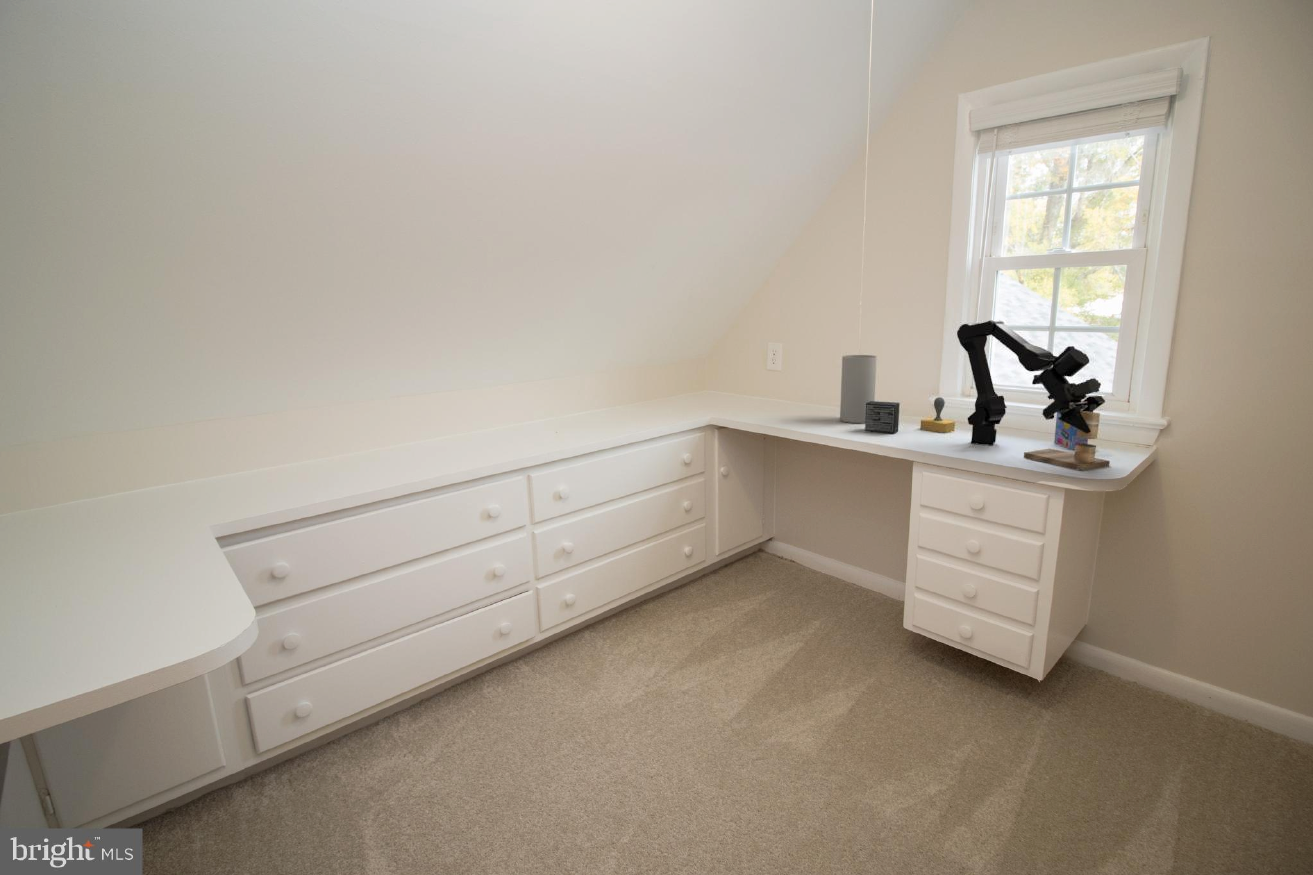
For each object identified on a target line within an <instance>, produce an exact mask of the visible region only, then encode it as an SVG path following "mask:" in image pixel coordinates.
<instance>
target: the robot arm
mask: <svg viewBox="0 0 1313 875" xmlns="http://www.w3.org/2000/svg"><path fill="white" fill-rule="evenodd" d="M956 336H957V339H958V342H959V344H960V346H961V347H962V348H963V349H964V350H965V351H966V353H967V355H968V360H969V364H970V368H971V372H972V373H971V374H972V377H973V381H974V385H975V390H976V394H977V395H976V396H977V397H976V399H975V403H974V411H973V412H972V413H971V414H970V415H969V416H968V417H967V423H968V425H970V426H972V427H971V430H972V431H971V439H970V444H972V445H982V446H994V444H996V442H997V432H998V430H997V428H996V425H1000V423H1001V421H1002V420H1003V418H1004V416H1005V415H1006V409H1007V408H1008V406H1006V403H1005V398H1004V395H998V394H997V392H996V391H995V388H994V383H993V380H992V375H991V372H990V367H989V362H988V358H987V355H986V350H985V348H986V344H987V341H988V337H989V336H992V337H994V338H995V340H997V341H998V342H1000V343H1001V344H1002V345H1003V346H1005V347H1006V348H1007V349H1009V351H1010V352H1012V353H1014V354H1015V355H1016V357H1017V359H1018V362H1019V363H1020V364H1021V366H1022V367H1023V368H1024V369H1025V370H1026V371H1028V372H1041V373H1040V374H1035V375H1033V378H1032V382H1031V383H1032V385H1033V386H1034V385H1042V386H1043V387H1044V389H1045V390H1046V391H1047V393H1048V395H1047V396H1046V397H1047V398H1048V399H1049V400H1053V401H1052V402H1051V403H1049V405H1047V406H1046V407H1045V408H1044V409H1042V416H1043V417H1044V418H1045V420H1046V421H1047V420H1054V418H1055V414H1057V412H1060V413H1061V414H1060V415H1061V417H1060V418H1058V420H1061V421H1063V422H1065V423H1067V424H1070V425H1072V426H1074V427H1075V428H1077V429H1079V430H1081V431H1083V432H1085V433H1089V432H1091V431H1090V429H1089V427H1088V425H1087V424H1086V422H1085V420H1084V419H1083V417H1082V415H1081V412H1082V411H1088V412H1095V410H1097V409H1099V407H1101V406H1102V405H1104V404H1105V403H1106V400H1105V399H1104V398H1103V396H1101V395H1090V394H1094V393H1098V392H1100V389H1101V385H1102V383H1101V382H1099V380H1097V379H1096V378H1095V377H1094V378H1090V379H1086V380H1085V381H1082V382H1080V383H1074V382H1073V383H1072V382H1071V383H1070V381H1069V380H1068V379H1067V378H1066V377H1069V378H1071V377H1074V376H1075V375H1076V374H1077V373H1078V372H1080V371H1081V370H1082V369H1084V368H1085V366H1087V365H1089V363H1090V359H1089V356H1088V355H1087V354H1086V353H1084V352H1083V351H1081V350H1080V349H1077V348H1076V347H1075V346H1074V345H1071V346H1070V345H1068V346H1067V347H1065V349H1064V350H1063V351H1062V352H1060V353H1059V355H1058V356H1057V355H1054V353H1052V352H1050V351H1049V350H1047V349H1045V348H1043V347H1040V346H1037V345H1034V344H1031V343H1030V342H1028V341H1027V340H1026V339H1024V338H1023V336H1021V335H1019V334H1018V333H1017V332H1015V331H1014V330H1013V329H1011V328H1010V327H1009V326H1008V325H1006V324H1005V323H1004V321H1003V320H1000V319H993V320H987V321H984V322H977V323H963V324H961V325H960V326H959V327H958V330H957V331H956ZM1087 395H1090V396H1088V397H1087Z"/></svg>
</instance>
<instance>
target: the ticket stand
mask: <svg viewBox="0 0 1313 875" xmlns="http://www.w3.org/2000/svg"><path fill="white" fill-rule="evenodd" d="M1075 445H1076V446H1075V449H1074V452H1069V451H1064V450H1059V449H1058V450H1057V449H1054V448H1050V447H1049V448H1044V449H1037V450H1032V451H1025V452H1024V453H1023V458H1024V459H1028V460H1033V461H1038V462H1042V463H1047V464H1050V465H1055V466H1060V467H1064V468H1067V467H1068V469H1072V470H1076V469H1078V470H1077V471H1080V470H1086V471H1091V470H1096V469H1100V468H1101V467H1102V468H1106V467H1110V462H1111V461H1110V460H1108V459H1107V460H1106V459H1104V458H1103V459H1102V458H1097V457H1095V456H1096V451H1097V445H1095V444H1089V443H1088V444H1085V443H1077V444H1075ZM1090 469H1091V470H1090Z"/></svg>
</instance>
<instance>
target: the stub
mask: <svg viewBox="0 0 1313 875" xmlns="http://www.w3.org/2000/svg"><path fill="white" fill-rule="evenodd" d="M1081 415H1082V417H1083V419H1084V420H1085V422H1086V424H1087V425H1088V427H1089V429H1090V431H1091V432H1089V433H1085V432H1083V431H1081V430H1079V429H1077V437H1081V438H1086V439H1088V440H1096V439H1097V438H1098V434H1099V424H1100V418H1101V417H1100V416H1101V413H1100V412H1095V411H1093V412H1088V411H1082V412H1081Z"/></svg>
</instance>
